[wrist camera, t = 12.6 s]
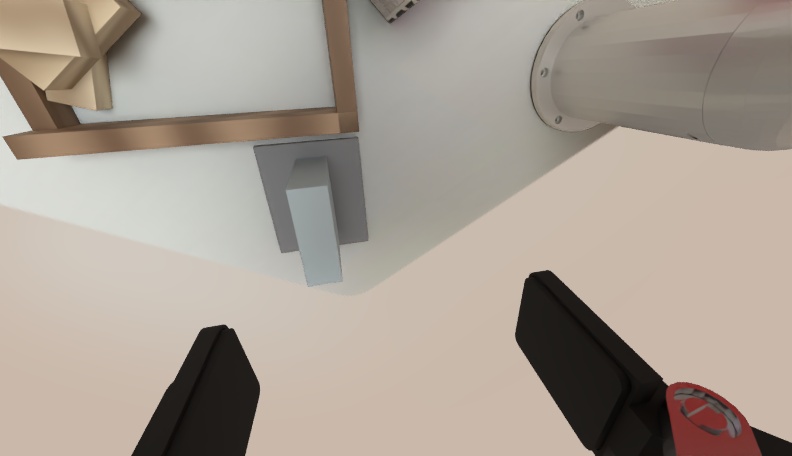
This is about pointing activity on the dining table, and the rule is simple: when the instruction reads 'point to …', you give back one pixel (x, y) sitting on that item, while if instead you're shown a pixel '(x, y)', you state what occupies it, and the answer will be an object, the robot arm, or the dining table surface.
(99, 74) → the offcut
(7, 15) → the offcut
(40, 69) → the offcut
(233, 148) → the dining table surface
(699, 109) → the robot arm
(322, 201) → the block
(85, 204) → the dining table surface
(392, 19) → the candy bar box
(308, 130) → the tray
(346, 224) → the felt pad
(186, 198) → the dining table surface
